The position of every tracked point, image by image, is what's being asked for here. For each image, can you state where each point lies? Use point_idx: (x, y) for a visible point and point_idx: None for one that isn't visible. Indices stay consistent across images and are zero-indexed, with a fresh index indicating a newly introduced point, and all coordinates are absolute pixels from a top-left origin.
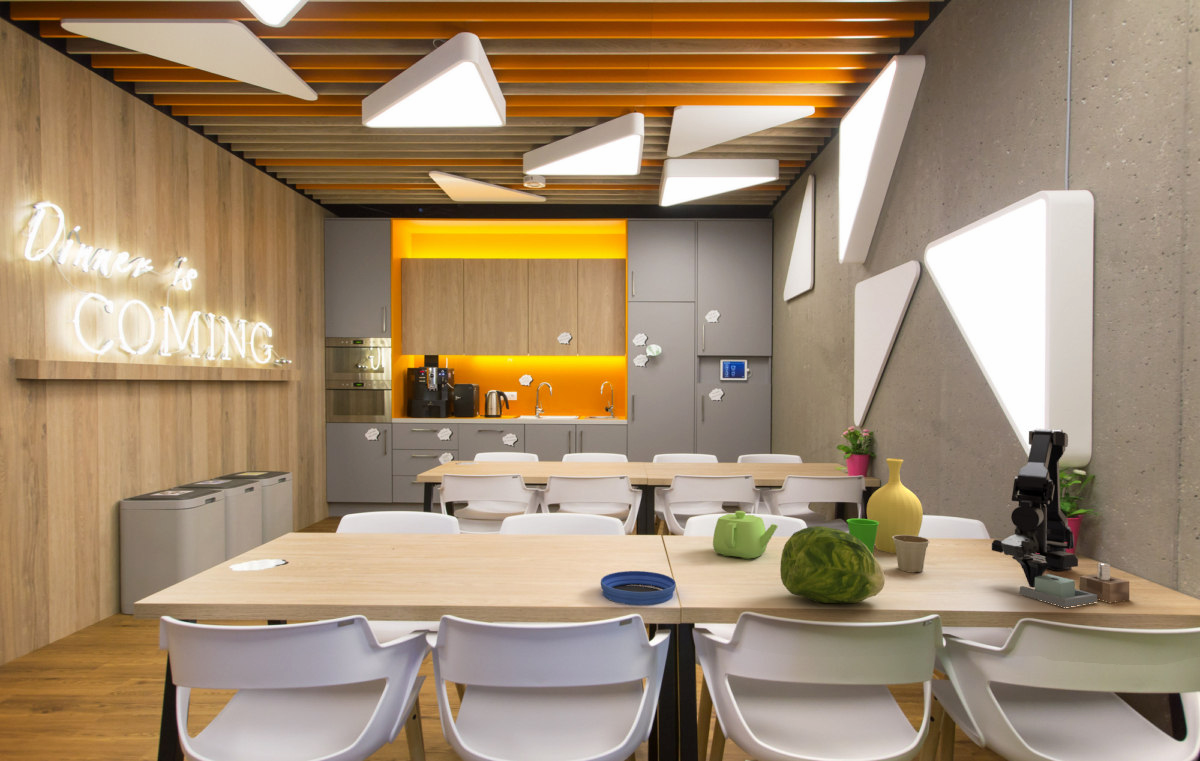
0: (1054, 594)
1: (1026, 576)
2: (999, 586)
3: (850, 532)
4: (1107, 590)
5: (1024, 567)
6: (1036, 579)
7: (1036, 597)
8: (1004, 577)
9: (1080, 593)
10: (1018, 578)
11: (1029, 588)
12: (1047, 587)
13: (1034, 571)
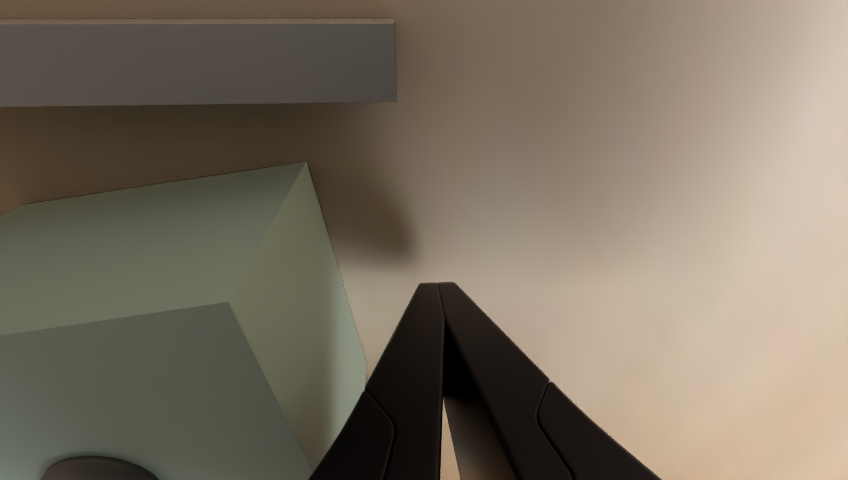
0: (37, 232)
1: (507, 349)
2: (726, 112)
3: None
4: None
5: (585, 477)
6: (204, 282)
7: (127, 20)
8: (782, 384)
9: None
10: (696, 438)
11: (259, 83)
12: (69, 255)
13: (338, 463)
